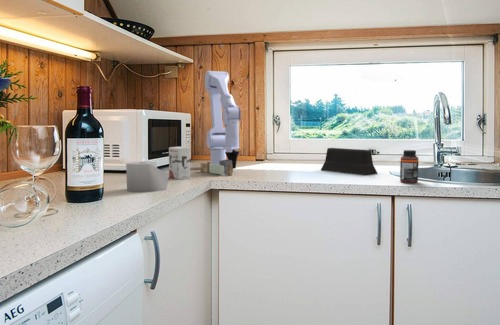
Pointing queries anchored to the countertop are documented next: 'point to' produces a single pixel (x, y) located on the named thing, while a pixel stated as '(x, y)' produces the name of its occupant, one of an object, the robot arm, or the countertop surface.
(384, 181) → the countertop surface
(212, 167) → the pale green bar
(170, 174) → the ink box
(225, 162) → the grey faceted block
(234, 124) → the robot arm
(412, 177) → the supplement bottle
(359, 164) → the black broom head
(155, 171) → the grey sloped wedge
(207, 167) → the tan small pieces
